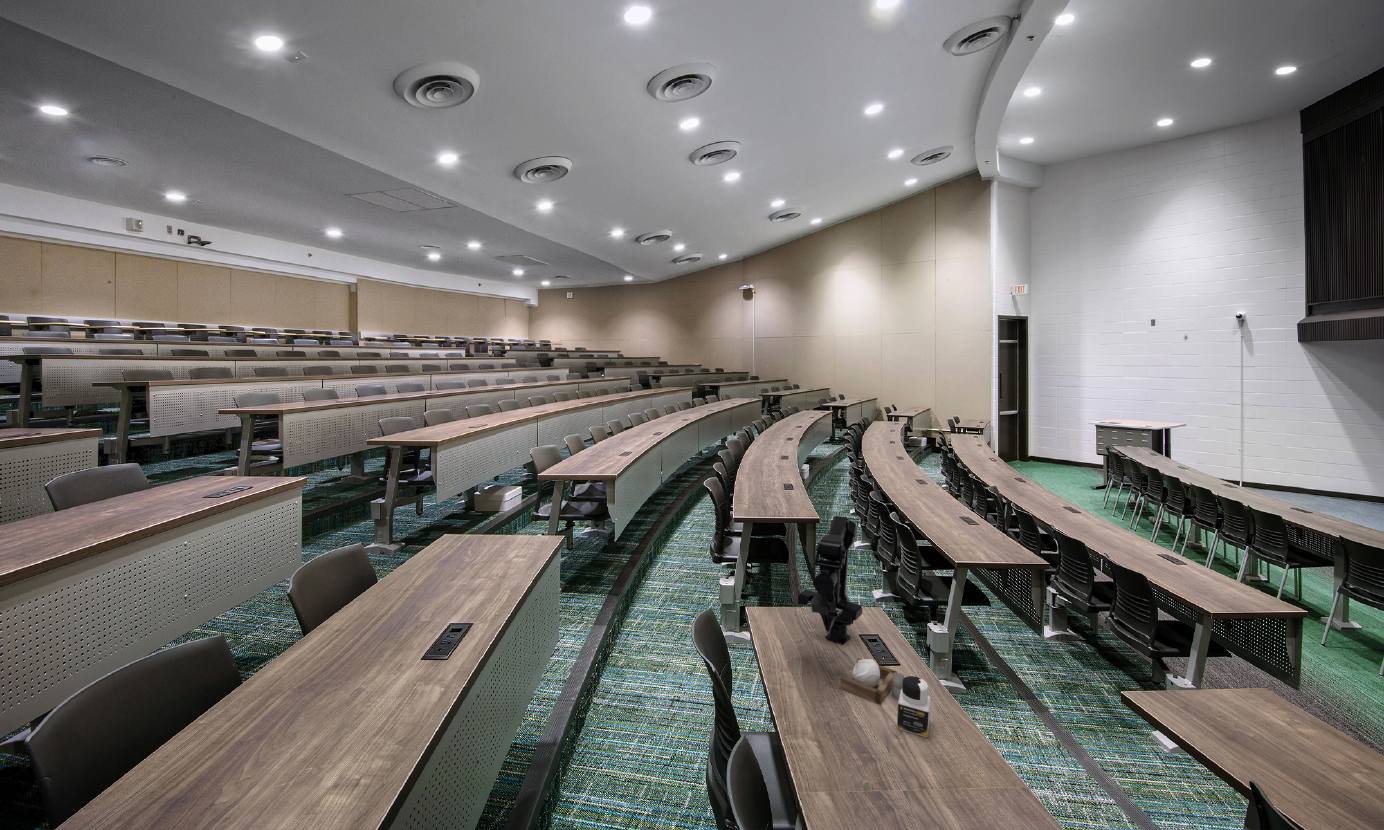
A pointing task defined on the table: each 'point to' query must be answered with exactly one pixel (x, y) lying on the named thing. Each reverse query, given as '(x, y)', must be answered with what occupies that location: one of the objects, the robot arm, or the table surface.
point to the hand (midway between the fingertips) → (828, 631)
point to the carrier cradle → (872, 694)
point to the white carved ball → (866, 672)
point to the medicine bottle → (914, 706)
